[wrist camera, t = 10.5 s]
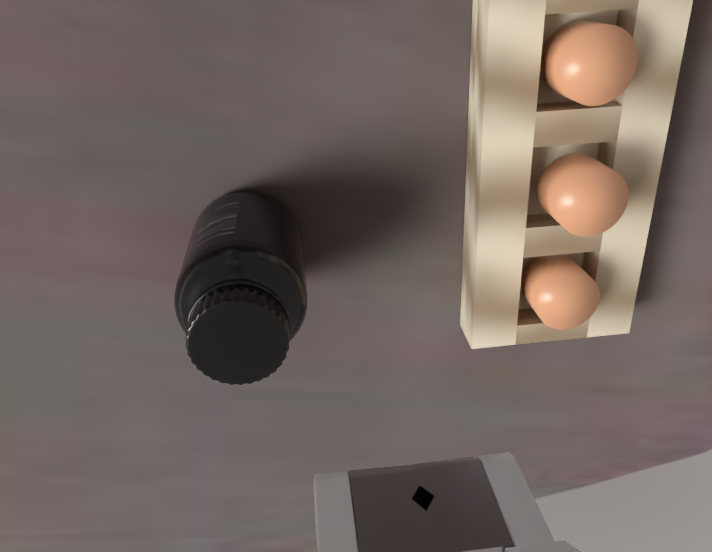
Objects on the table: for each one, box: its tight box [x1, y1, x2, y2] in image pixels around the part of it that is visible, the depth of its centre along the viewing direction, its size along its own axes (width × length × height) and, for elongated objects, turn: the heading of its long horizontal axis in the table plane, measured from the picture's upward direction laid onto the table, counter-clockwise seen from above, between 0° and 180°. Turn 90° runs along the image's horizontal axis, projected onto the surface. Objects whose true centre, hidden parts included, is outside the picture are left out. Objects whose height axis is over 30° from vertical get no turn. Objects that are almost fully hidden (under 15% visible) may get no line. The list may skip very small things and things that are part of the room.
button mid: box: [537, 153, 629, 237], centre depth 34 cm, size 4×4×3 cm
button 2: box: [540, 20, 638, 106], centre depth 32 cm, size 4×4×3 cm
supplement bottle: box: [174, 192, 307, 385], centre depth 33 cm, size 7×7×12 cm
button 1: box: [521, 254, 600, 330], centre depth 39 cm, size 4×4×3 cm
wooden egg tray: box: [460, 0, 693, 349], centre depth 37 cm, size 22×11×3 cm, turn 3°
